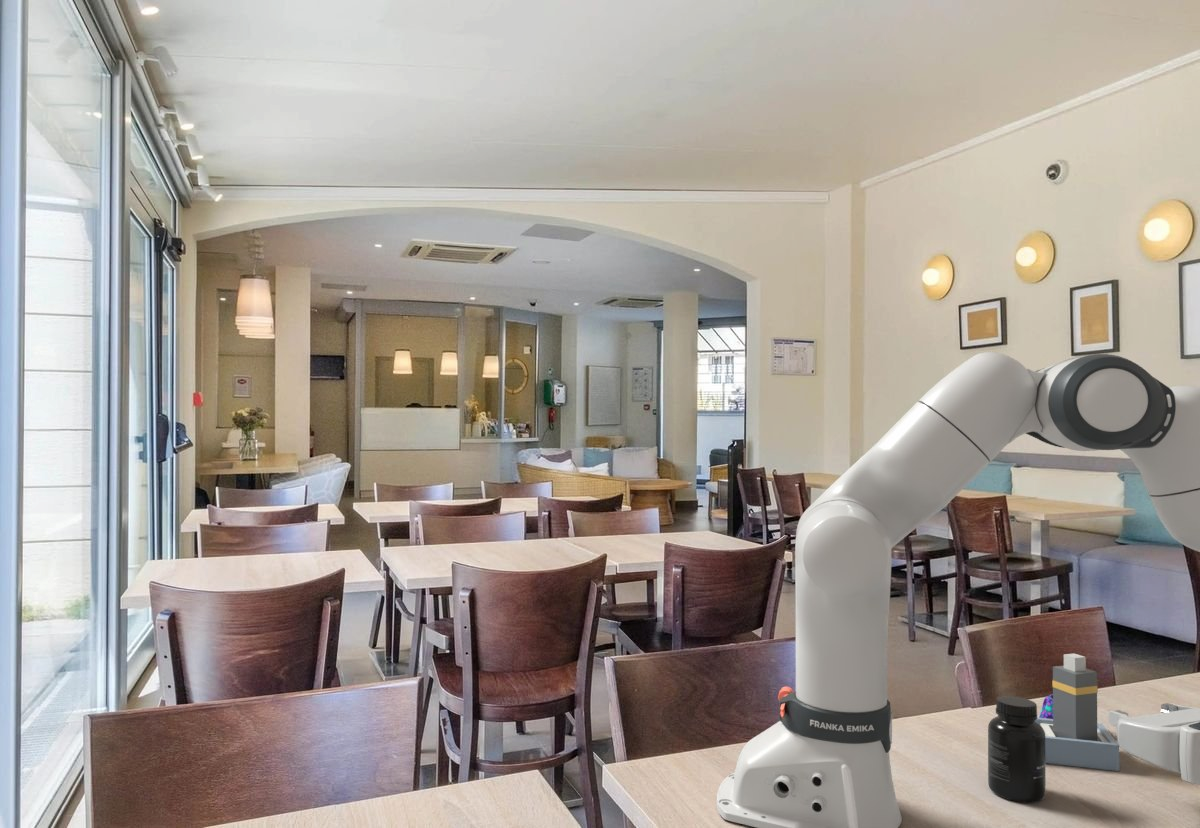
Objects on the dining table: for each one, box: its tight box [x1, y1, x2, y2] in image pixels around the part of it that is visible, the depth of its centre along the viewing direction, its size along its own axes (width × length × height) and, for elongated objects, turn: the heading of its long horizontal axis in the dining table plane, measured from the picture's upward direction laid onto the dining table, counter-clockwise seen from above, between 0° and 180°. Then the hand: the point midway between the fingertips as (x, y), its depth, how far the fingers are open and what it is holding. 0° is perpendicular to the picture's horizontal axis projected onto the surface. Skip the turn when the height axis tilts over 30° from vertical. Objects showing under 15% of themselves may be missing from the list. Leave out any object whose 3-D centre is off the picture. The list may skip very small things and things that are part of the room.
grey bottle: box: [1051, 652, 1099, 741], centre depth 123 cm, size 4×4×14 cm
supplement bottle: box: [987, 695, 1047, 803], centre depth 111 cm, size 7×7×12 cm
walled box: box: [1035, 718, 1120, 772], centre depth 124 cm, size 14×9×4 cm, turn 73°
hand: (1138, 712), depth 114 cm, fingers open, 8 cm apart
